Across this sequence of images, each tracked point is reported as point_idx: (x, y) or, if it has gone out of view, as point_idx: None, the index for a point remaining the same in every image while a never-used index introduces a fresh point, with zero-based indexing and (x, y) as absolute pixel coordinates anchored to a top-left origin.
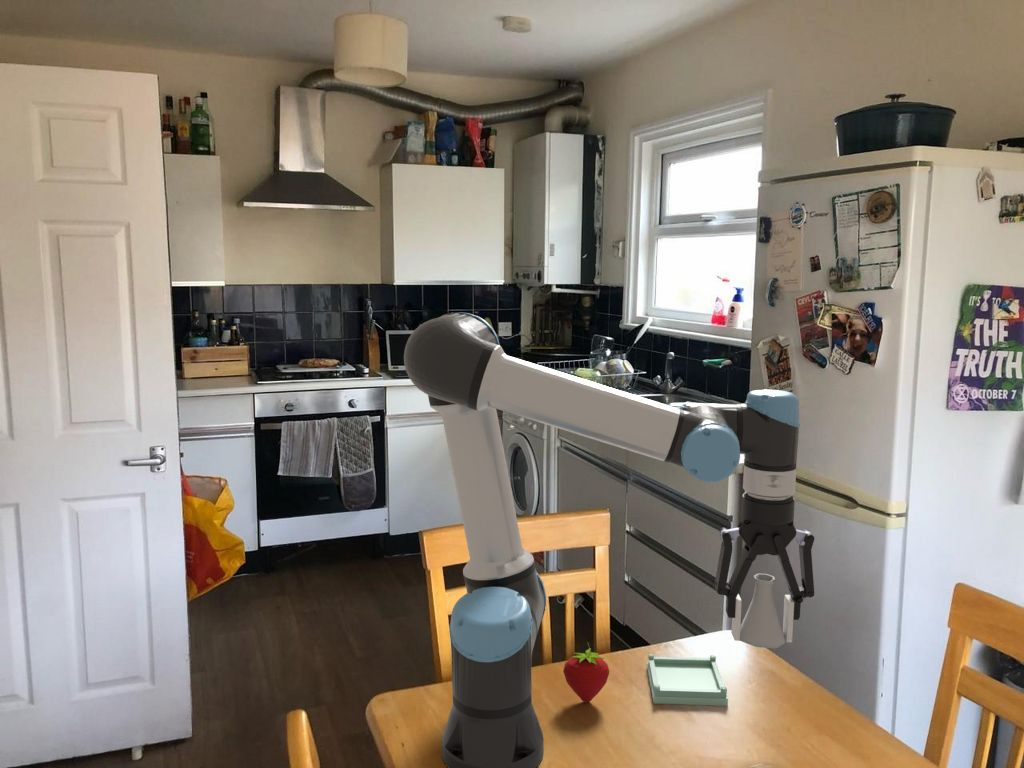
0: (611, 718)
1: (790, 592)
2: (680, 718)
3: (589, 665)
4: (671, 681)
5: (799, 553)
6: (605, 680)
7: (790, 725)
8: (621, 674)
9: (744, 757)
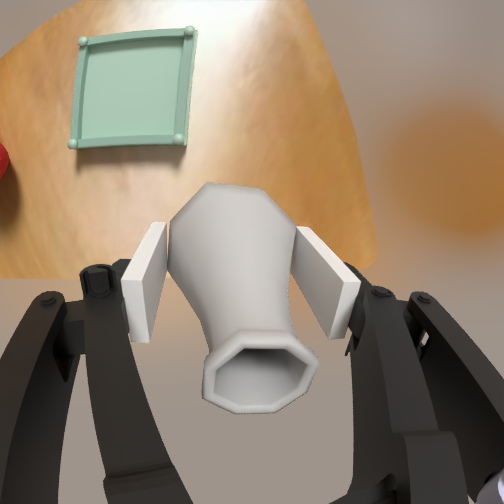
0: (31, 195)
1: (363, 303)
2: (110, 185)
3: None
4: (105, 97)
5: (491, 409)
6: (2, 172)
7: None
8: (49, 72)
9: None
